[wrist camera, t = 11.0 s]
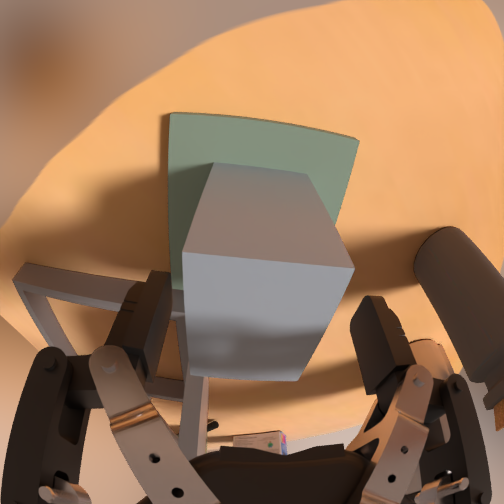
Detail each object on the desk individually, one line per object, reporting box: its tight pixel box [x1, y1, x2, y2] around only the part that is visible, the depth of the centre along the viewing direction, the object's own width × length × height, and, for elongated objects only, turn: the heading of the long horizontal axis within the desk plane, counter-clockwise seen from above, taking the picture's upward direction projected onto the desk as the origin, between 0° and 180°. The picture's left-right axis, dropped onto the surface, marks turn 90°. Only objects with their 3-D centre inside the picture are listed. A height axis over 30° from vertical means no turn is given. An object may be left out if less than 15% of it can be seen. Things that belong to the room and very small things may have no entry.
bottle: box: [414, 227, 504, 431], centre depth 13 cm, size 6×6×15 cm
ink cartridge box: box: [233, 431, 287, 455], centre depth 39 cm, size 10×6×14 cm, turn 111°
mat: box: [168, 112, 359, 290], centre depth 16 cm, size 10×12×1 cm
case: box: [12, 263, 209, 461], centre depth 19 cm, size 18×18×14 cm
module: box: [182, 162, 355, 381], centre depth 13 cm, size 5×7×8 cm
